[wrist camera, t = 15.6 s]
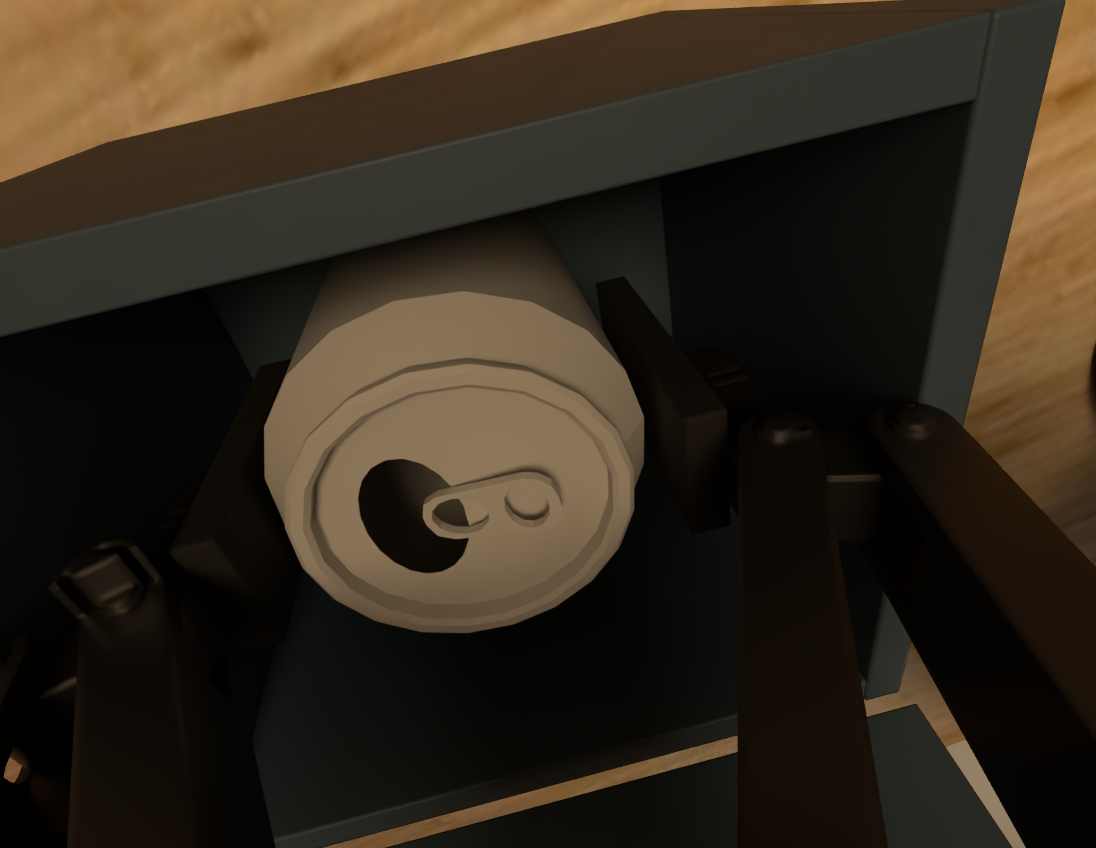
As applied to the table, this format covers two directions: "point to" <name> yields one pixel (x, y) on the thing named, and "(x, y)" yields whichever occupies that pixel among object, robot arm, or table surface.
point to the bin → (591, 256)
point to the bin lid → (712, 793)
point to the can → (454, 431)
